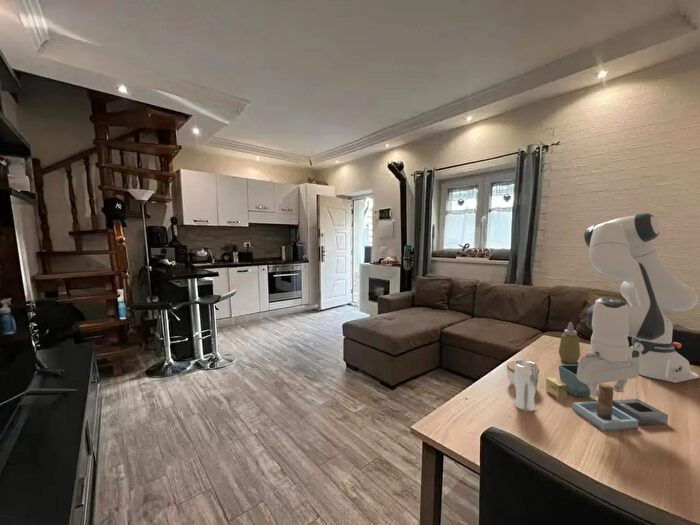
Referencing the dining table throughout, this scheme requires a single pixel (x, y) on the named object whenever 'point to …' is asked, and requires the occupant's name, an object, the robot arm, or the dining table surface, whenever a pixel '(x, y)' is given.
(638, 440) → the dining table surface
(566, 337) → the squeeze bottle
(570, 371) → the flower pot
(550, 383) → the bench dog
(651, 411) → the socket block
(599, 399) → the dowel
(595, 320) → the robot arm
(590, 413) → the tray
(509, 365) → the lidded jar
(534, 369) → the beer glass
